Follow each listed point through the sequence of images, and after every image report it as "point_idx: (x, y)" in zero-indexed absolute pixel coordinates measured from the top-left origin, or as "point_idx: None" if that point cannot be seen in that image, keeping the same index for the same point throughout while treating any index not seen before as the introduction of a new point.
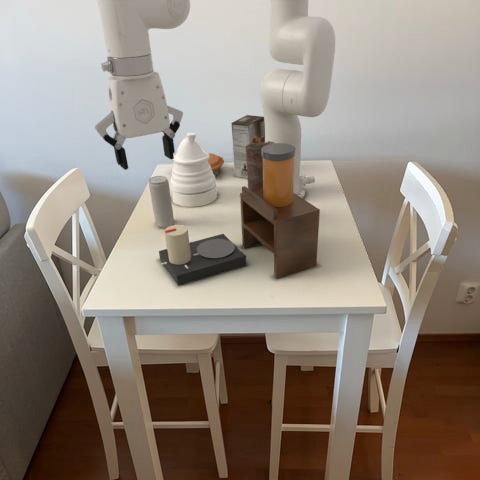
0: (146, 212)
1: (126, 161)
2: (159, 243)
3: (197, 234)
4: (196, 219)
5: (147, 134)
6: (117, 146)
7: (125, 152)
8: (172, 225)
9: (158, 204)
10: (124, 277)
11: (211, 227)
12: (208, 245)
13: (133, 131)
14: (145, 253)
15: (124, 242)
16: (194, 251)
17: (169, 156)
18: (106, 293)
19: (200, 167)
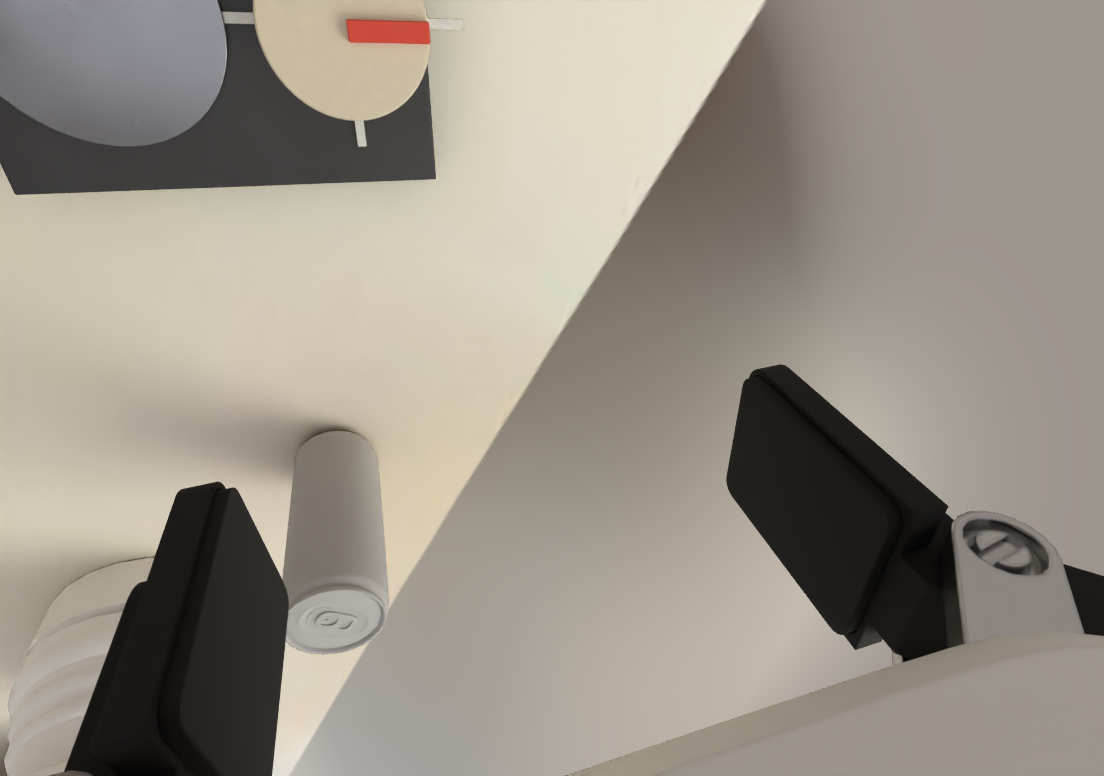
0: (391, 555)
1: (799, 415)
2: (396, 317)
3: (198, 327)
4: (183, 457)
5: (650, 753)
6: (1002, 548)
7: (864, 485)
8: (356, 119)
9: (359, 503)
10: (608, 102)
11: (108, 366)
12: (137, 76)
13: (1064, 772)
14: (473, 261)
15: (524, 377)
16: (243, 66)
17: (234, 516)
18: (711, 6)
19: (63, 743)
